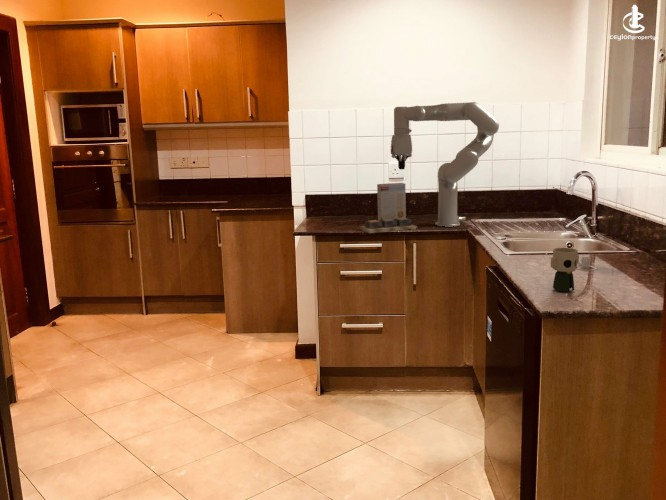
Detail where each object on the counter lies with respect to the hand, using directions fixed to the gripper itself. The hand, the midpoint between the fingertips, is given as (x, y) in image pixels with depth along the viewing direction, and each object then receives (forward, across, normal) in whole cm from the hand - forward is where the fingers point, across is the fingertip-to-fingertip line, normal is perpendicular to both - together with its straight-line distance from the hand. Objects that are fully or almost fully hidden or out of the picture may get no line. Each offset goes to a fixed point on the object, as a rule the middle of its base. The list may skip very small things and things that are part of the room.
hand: (401, 169), depth 315 cm
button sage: (+27, +2, +5) cm, 28 cm away
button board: (+29, +10, +5) cm, 31 cm away
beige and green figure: (+29, +10, +133) cm, 137 cm away
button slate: (+27, +10, +5) cm, 30 cm away
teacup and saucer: (+30, -20, +112) cm, 118 cm away
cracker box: (+29, 0, -12) cm, 32 cm away
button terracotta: (+27, +18, +5) cm, 33 cm away
